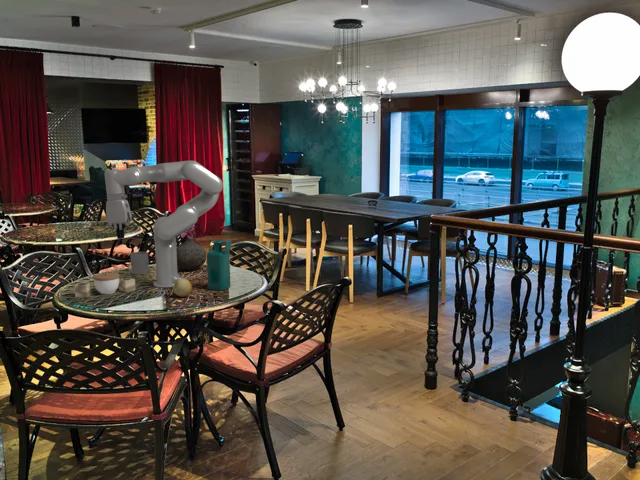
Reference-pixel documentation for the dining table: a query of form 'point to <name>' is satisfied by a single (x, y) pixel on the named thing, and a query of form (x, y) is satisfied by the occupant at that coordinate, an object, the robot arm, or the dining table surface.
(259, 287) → the dining table surface
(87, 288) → the marked cube 1
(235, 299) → the dining table surface
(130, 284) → the marked cube 2
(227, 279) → the teal bottle
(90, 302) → the dining table surface
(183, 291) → the fruit
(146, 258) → the mug
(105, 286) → the lidded jar
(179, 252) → the vase
